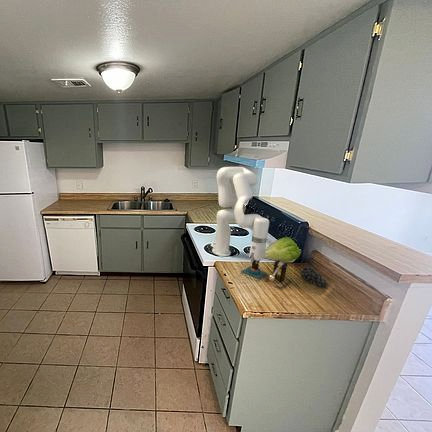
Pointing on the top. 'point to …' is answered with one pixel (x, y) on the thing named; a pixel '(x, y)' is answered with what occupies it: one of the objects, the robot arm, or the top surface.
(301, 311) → the top surface
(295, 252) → the lettuce
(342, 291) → the top surface
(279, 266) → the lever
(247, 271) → the control block
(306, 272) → the fruit
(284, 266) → the bracket
